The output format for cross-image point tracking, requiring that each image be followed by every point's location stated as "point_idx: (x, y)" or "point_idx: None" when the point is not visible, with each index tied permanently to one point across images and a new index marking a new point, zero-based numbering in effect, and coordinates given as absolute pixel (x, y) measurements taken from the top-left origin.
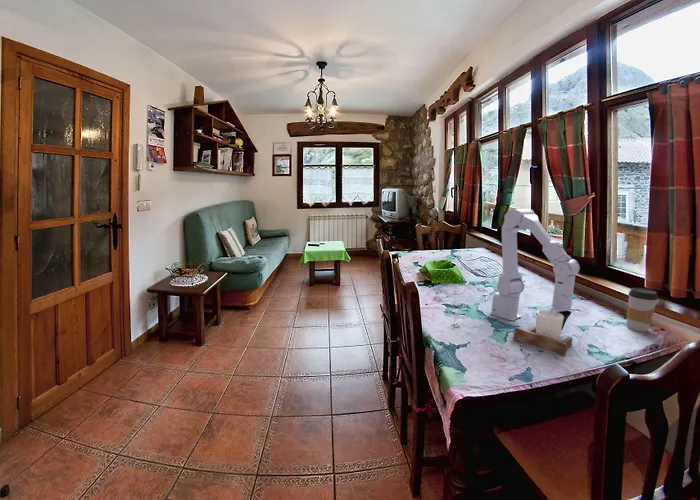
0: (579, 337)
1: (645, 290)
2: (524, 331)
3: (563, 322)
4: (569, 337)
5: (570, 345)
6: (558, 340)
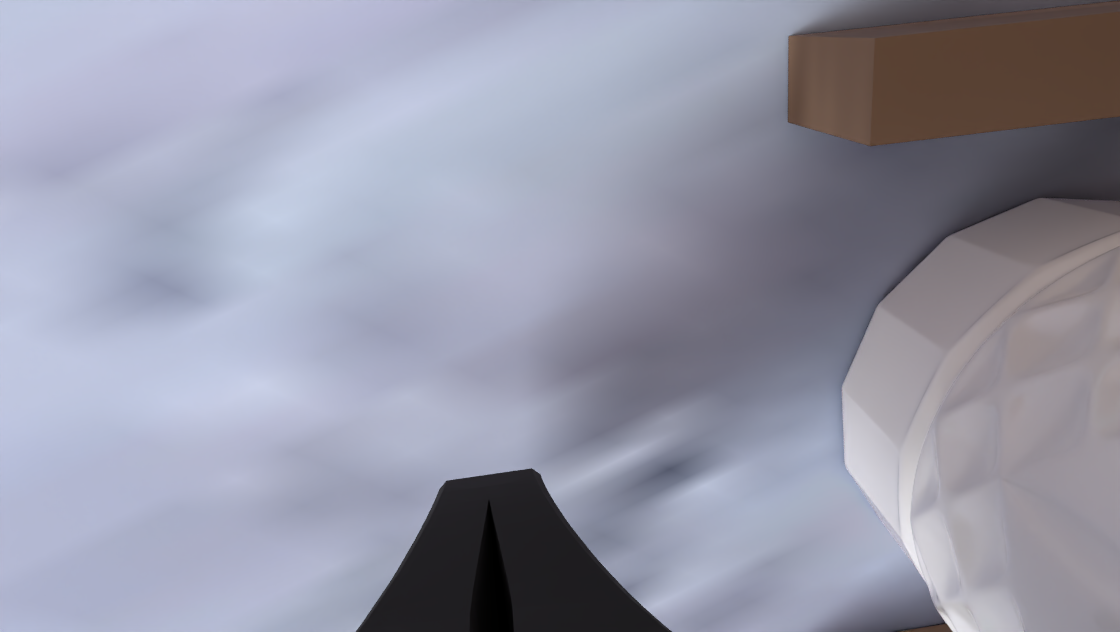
0: (152, 147)
1: None
2: None
3: (597, 600)
4: (909, 102)
5: (850, 30)
6: (1115, 214)
